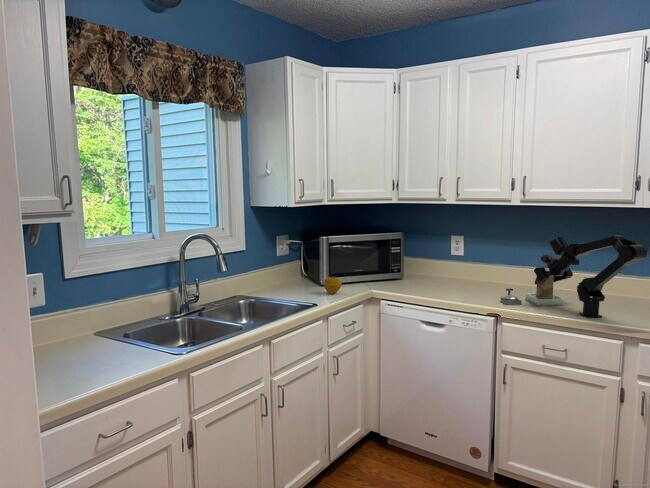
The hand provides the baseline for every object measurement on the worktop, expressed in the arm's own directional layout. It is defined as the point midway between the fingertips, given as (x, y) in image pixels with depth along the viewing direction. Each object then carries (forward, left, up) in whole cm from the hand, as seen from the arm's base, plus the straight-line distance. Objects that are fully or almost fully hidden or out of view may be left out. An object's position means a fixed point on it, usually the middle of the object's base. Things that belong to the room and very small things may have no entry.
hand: (542, 283), depth 223 cm
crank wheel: (-2, +15, -7) cm, 17 cm away
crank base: (-2, +15, -9) cm, 18 cm away
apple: (+19, +98, -9) cm, 101 cm away
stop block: (-1, -1, -8) cm, 8 cm away
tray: (-1, -1, -9) cm, 9 cm away
